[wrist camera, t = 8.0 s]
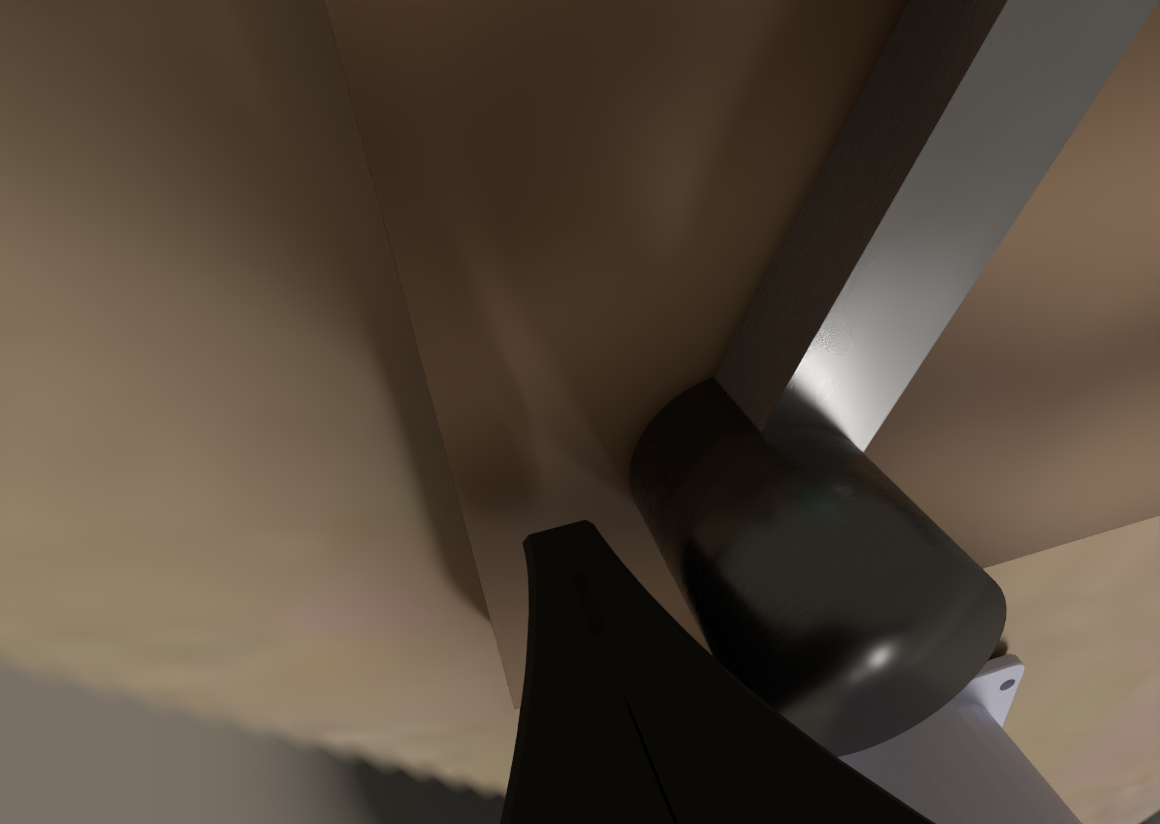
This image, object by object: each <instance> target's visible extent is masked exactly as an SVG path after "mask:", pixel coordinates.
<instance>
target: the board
mask: <svg viewBox="0 0 1160 824" xmlns="http://www.w3.org/2000/svg"><path fill="white" fill-rule="evenodd" d="M324 1H325V5H326V9H327V12H328V16H329V20H330V23H331V27H332V31H333V35H334V38H335V42H336V46H337V50H338V53H339V57H340V61H341V64H342V68H343V72H344V76H345V79H346V83H347V87H348V91H349V94H350V98H351V102H352V105H353V109H354V113H355V117H356V120H357V124H358V128H359V131H360V135H361V139H362V143H363V146H364V150H365V154H366V158H367V161H368V165H369V169H370V172H371V176H372V180H373V184H374V187H375V191H376V195H377V199H378V202H379V206H380V210H381V213H382V217H383V221H384V225H385V228H386V232H387V236H388V240H389V243H390V247H391V251H392V254H393V258H394V262H395V266H396V269H397V273H398V277H399V281H400V284H401V288H402V292H403V295H404V299H405V303H406V307H407V310H408V314H409V318H410V322H411V325H412V329H413V333H414V336H415V340H416V344H417V348H418V351H419V355H420V359H421V363H422V366H423V370H424V374H425V377H426V381H427V385H428V389H429V392H430V396H431V400H432V404H433V407H434V411H435V415H436V418H437V422H438V426H439V430H440V433H441V437H442V441H443V444H444V448H445V452H446V456H447V459H448V463H449V467H450V471H451V474H452V478H453V482H454V485H455V489H456V493H457V497H458V500H459V504H460V508H461V512H462V515H463V519H464V523H465V526H466V530H467V534H468V538H469V541H470V545H471V549H472V553H473V556H474V560H475V564H476V567H477V571H478V575H479V579H480V582H481V586H482V590H483V594H484V597H485V601H486V605H487V608H488V612H489V616H490V620H491V623H492V627H493V631H494V635H495V638H496V642H497V646H498V649H499V653H500V657H501V661H502V664H503V668H504V672H505V676H506V679H507V683H508V687H509V690H510V694H511V698H512V702H513V705H514V709H517V708H520V707H521V699H522V691H523V684H524V676H525V665H526V650H527V633H528V615H529V600H528V573H527V564H526V558H525V553H524V548H523V544H522V542H523V541H524V540H525V539H526V537H527V536H528V535H529V534H533V533H537V532H540V531H544V530H548V529H552V528H555V527H559V526H563V525H567V524H571V523H574V522H578V521H582V520H588V521H589V522H591V523H593V524H594V525H595V526H596V528H597V529H598V531H599V532H600V534H601V535H602V537H603V538H604V539H605V541H606V542H607V543H608V545H609V546H610V547H611V548H612V550H613V551H614V552H615V554H616V555H617V556H618V557H619V558H620V560H621V561H622V562H623V563H624V565H625V566H626V567H627V568H628V569H629V570H630V572H631V573H632V574H633V575H634V576H635V577H636V578H637V580H638V581H639V582H640V583H641V584H642V585H643V586H644V587H645V589H646V590H647V591H648V592H649V593H650V594H651V595H652V596H653V597H654V598H655V599H656V600H657V601H658V602H659V604H660V605H661V606H662V607H663V608H664V609H665V610H666V611H667V612H668V613H669V614H670V615H671V616H672V617H673V618H674V619H675V620H676V621H677V622H678V623H679V624H680V625H681V626H682V627H683V628H684V629H685V630H686V631H687V632H688V633H689V634H690V635H691V636H692V637H693V638H694V639H695V640H696V641H697V642H698V643H699V644H700V645H701V646H702V647H703V648H705V649H706V650H707V651H710V650H709V648H708V646H707V644H706V642H705V640H704V638H703V636H702V634H701V632H700V630H699V628H698V626H697V624H696V622H695V620H694V618H693V616H692V614H691V612H690V610H689V608H688V606H687V604H686V602H685V601H684V599H683V597H682V595H681V593H680V591H679V589H678V587H677V585H676V583H675V581H674V579H673V577H672V575H671V573H670V571H669V569H668V567H667V565H666V563H665V561H664V559H663V557H662V555H661V553H660V551H659V549H658V547H657V545H656V543H655V542H654V540H653V538H652V536H651V534H650V532H649V530H648V528H647V526H646V524H645V522H644V520H643V518H642V516H641V514H640V512H639V510H638V508H637V506H636V504H635V502H634V499H633V497H632V494H631V489H630V484H629V471H630V463H631V460H632V456H633V452H634V450H635V447H636V445H637V442H638V440H639V439H640V437H641V435H642V433H643V432H644V430H645V429H646V427H647V426H648V424H649V423H650V422H651V420H652V419H653V418H654V417H655V416H656V415H657V414H658V412H659V411H660V410H661V409H662V408H663V407H665V406H666V405H667V404H668V403H669V402H670V401H671V400H673V399H674V398H675V397H677V396H678V395H679V394H681V393H682V392H684V391H685V390H687V389H689V388H691V387H692V386H694V385H696V384H698V383H700V382H703V381H705V380H707V379H710V378H713V377H714V376H715V374H716V372H717V370H718V368H719V366H720V364H721V363H722V361H723V359H724V357H725V355H726V353H727V351H728V349H729V347H730V345H731V343H732V341H733V339H734V337H735V336H736V334H737V332H738V330H739V328H740V326H741V324H742V322H743V320H744V318H745V316H746V314H747V312H748V310H749V309H750V307H751V305H752V303H753V301H754V299H755V297H756V295H757V293H758V291H759V289H760V287H761V285H762V283H763V282H764V280H765V278H766V276H767V274H768V272H769V270H770V268H771V266H772V264H773V262H774V260H775V258H776V256H777V255H778V253H779V251H780V249H781V247H782V245H783V243H784V241H785V239H786V237H787V235H788V233H789V231H790V229H791V228H792V226H793V224H794V222H795V220H796V218H797V216H798V214H799V212H800V210H801V208H802V206H803V204H804V202H805V201H806V199H807V197H808V195H809V193H810V191H811V189H812V187H813V185H814V183H815V181H816V179H817V177H818V175H819V174H820V172H821V170H822V168H823V166H824V164H825V162H826V160H827V158H828V156H829V154H830V152H831V150H832V148H833V147H834V145H835V143H836V141H837V139H838V137H839V135H840V133H841V131H842V129H843V127H844V125H845V123H846V121H847V120H848V118H849V116H850V114H851V112H852V110H853V108H854V106H855V104H856V102H857V100H858V98H859V96H860V94H861V93H862V91H863V89H864V87H865V85H866V83H867V81H868V79H869V77H870V75H871V73H872V71H873V69H874V67H875V66H876V64H877V62H878V60H879V58H880V56H881V54H882V52H883V50H884V48H885V46H886V44H887V42H888V40H889V39H890V37H891V35H892V33H893V31H894V29H895V27H896V25H897V23H898V21H899V19H900V17H901V15H902V13H903V12H904V10H905V8H906V6H907V4H908V2H909V0H324ZM863 453H864V454H865V455H866V456H867V457H868V458H869V459H870V460H871V461H872V462H873V463H874V464H875V465H876V466H877V467H879V468H880V469H881V470H882V471H883V472H884V473H885V474H886V475H887V476H888V477H889V478H890V479H891V480H892V481H893V482H894V483H895V484H896V485H897V486H898V487H899V488H900V489H901V490H902V491H903V492H904V493H905V494H906V495H907V496H908V497H909V498H910V499H911V500H912V501H913V502H914V503H915V504H916V505H917V506H918V507H920V508H921V509H922V510H923V511H924V512H925V513H926V514H927V515H928V516H929V517H930V518H931V519H932V520H933V521H934V522H935V523H936V524H937V525H938V526H939V527H940V528H941V529H942V530H943V531H944V532H945V533H946V534H947V535H948V536H949V537H950V538H951V539H952V540H953V541H954V542H955V543H956V544H957V545H958V546H959V547H961V548H962V549H963V550H964V551H965V552H966V553H967V554H968V555H969V556H970V557H971V558H972V559H973V560H974V561H975V562H976V563H977V564H978V565H979V566H980V567H981V568H982V569H983V568H986V567H990V566H993V565H996V564H1000V563H1003V562H1006V561H1010V560H1013V559H1016V558H1019V557H1023V556H1026V555H1029V554H1033V553H1036V552H1039V551H1043V550H1046V549H1049V548H1053V547H1056V546H1059V545H1063V544H1066V543H1069V542H1073V541H1076V540H1079V539H1083V538H1086V537H1089V536H1093V535H1096V534H1099V533H1103V532H1106V531H1109V530H1113V529H1116V528H1119V527H1123V526H1126V525H1129V524H1133V523H1136V522H1139V521H1143V520H1146V519H1149V518H1153V517H1156V516H1159V515H1160V1H1159V2H1158V4H1157V5H1156V7H1155V8H1154V10H1153V11H1152V13H1151V14H1150V16H1149V17H1148V19H1147V20H1146V22H1145V23H1144V25H1143V26H1142V28H1141V30H1140V31H1139V33H1138V34H1137V36H1136V37H1135V39H1134V40H1133V42H1132V43H1131V45H1130V46H1129V48H1128V49H1127V51H1126V52H1125V54H1124V55H1123V57H1122V58H1121V60H1120V62H1119V63H1118V65H1117V66H1116V68H1115V69H1114V71H1113V72H1112V74H1111V75H1110V77H1109V78H1108V80H1107V81H1106V83H1105V84H1104V86H1103V87H1102V89H1101V91H1100V92H1099V94H1098V95H1097V97H1096V98H1095V100H1094V101H1093V103H1092V104H1091V106H1090V107H1089V109H1088V110H1087V112H1086V113H1085V115H1084V116H1083V118H1082V119H1081V121H1080V123H1079V124H1078V126H1077V127H1076V129H1075V130H1074V132H1073V133H1072V135H1071V136H1070V138H1069V139H1068V141H1067V142H1066V144H1065V145H1064V147H1063V148H1062V150H1061V151H1060V153H1059V155H1058V156H1057V158H1056V159H1055V161H1054V162H1053V164H1052V165H1051V167H1050V168H1049V170H1048V171H1047V173H1046V174H1045V176H1044V177H1043V179H1042V180H1041V182H1040V184H1039V185H1038V187H1037V188H1036V190H1035V191H1034V193H1033V194H1032V196H1031V197H1030V199H1029V200H1028V202H1027V203H1026V205H1025V206H1024V208H1023V209H1022V211H1021V212H1020V214H1019V216H1018V217H1017V219H1016V220H1015V222H1014V223H1013V225H1012V226H1011V228H1010V229H1009V231H1008V232H1007V234H1006V235H1005V237H1004V238H1003V240H1002V241H1001V243H1000V244H999V246H998V248H997V249H996V251H995V252H994V254H993V255H992V257H991V258H990V260H989V261H988V263H987V264H986V266H985V267H984V269H983V270H982V272H981V273H980V275H979V277H978V278H977V280H976V281H975V283H974V284H973V286H972V287H971V289H970V290H969V292H968V293H967V295H966V296H965V298H964V299H963V301H962V302H961V304H960V305H959V307H958V309H957V310H956V312H955V313H954V315H953V316H952V318H951V319H950V321H949V322H948V324H947V325H946V327H945V328H944V330H943V331H942V333H941V334H940V336H939V338H938V339H937V341H936V342H935V344H934V345H933V347H932V348H931V350H930V351H929V353H928V354H927V356H926V357H925V359H924V360H923V362H922V363H921V365H920V366H919V368H918V370H917V371H916V373H915V374H914V376H913V377H912V379H911V380H910V382H909V383H908V385H907V386H906V388H905V389H904V391H903V392H902V394H901V395H900V397H899V398H898V400H897V402H896V403H895V405H894V406H893V408H892V409H891V411H890V412H889V414H888V415H887V417H886V418H885V420H884V421H883V423H882V424H881V426H880V427H879V429H878V431H877V432H876V434H875V435H874V437H873V438H872V440H871V441H870V443H869V444H868V446H867V447H866V449H865V450H864V452H863Z"/></svg>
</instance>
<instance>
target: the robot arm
mask: <svg viewBox="0 0 1160 824" xmlns="http://www.w3.org/2000/svg"><path fill="white" fill-rule="evenodd" d="M522 544H523V548H524V553H525V558H526V564H527V573H528V600H529V615H528V633H527V650H526V665H525V676H524V684H523V691H522V699H521V707H520V715H519V723H518V730H517V737H516V743H515V749H514V755H513V761H512V766H511V772H510V777H509V782H508V787H507V792H506V797H505V803H504V808H503V813H502V817H501V822H500V824H1082V823H1081V822H1080V820H1079V819H1078V818H1077V817H1076V816H1075V814H1074V813H1073V812H1072V811H1071V810H1070V808H1069V807H1068V806H1067V805H1066V804H1065V803H1064V801H1063V800H1062V799H1061V798H1060V797H1059V795H1058V794H1057V793H1056V792H1055V791H1054V789H1053V788H1052V787H1051V786H1050V785H1049V783H1048V782H1047V781H1046V780H1045V779H1044V777H1043V776H1042V775H1041V774H1040V773H1039V771H1038V770H1037V769H1036V768H1035V767H1034V766H1033V764H1032V763H1031V762H1030V761H1029V760H1028V758H1027V757H1026V756H1025V755H1024V754H1023V752H1022V751H1021V750H1020V749H1019V748H1018V746H1017V745H1016V744H1015V743H1014V742H1013V740H1012V739H1011V738H1010V737H1009V736H1008V734H1007V733H1006V732H1005V731H1004V730H1003V729H1002V725H1003V723H1004V720H1005V718H1006V715H1007V713H1008V710H1009V708H1010V705H1011V702H1012V700H1013V697H1014V695H1015V692H1016V690H1017V687H1018V685H1019V682H1020V680H1021V677H1022V675H1023V672H1024V667H1025V665H1024V664H1023V663H1022V662H1021V660H1020V659H1019V658H1018V657H1017V656H1016V655H1013V654H1007V655H1003V656H1000V657H997V658H994V659H991V660H988V661H987V662H986V664H985V665H984V666H983V668H982V669H981V670H980V671H979V673H978V674H977V675H976V676H975V677H974V679H973V680H972V681H971V682H970V683H969V684H968V685H967V686H966V687H965V688H964V689H963V690H962V691H961V692H960V693H959V694H957V695H956V696H955V697H954V698H953V699H952V700H951V701H950V702H948V703H947V704H946V705H945V706H943V707H942V708H941V709H940V710H938V711H937V712H935V713H934V714H933V715H931V716H930V717H928V718H927V719H925V720H924V721H922V722H921V723H919V724H917V725H916V726H914V727H913V728H911V729H909V730H907V731H905V732H904V733H902V734H900V735H898V736H896V737H894V738H892V739H890V740H887V741H885V742H883V743H881V744H878V745H876V746H873V747H871V748H868V749H865V750H862V751H859V752H856V753H853V754H849V755H845V756H841V757H836V756H835V755H833V754H832V753H831V752H829V751H828V750H827V749H825V748H824V747H823V746H821V745H820V744H819V743H817V742H816V741H815V740H813V739H812V738H811V737H809V736H808V735H807V734H805V733H804V732H803V731H801V730H800V729H799V728H797V727H796V726H795V725H794V724H792V723H791V722H790V721H789V720H787V719H786V718H785V717H784V716H782V715H781V714H780V713H779V712H777V711H776V710H775V709H774V708H772V707H771V706H770V705H769V704H767V703H766V702H765V701H764V700H762V699H761V698H760V697H759V696H758V695H756V694H755V693H754V692H753V691H752V690H750V689H749V688H748V687H747V686H746V685H745V684H743V683H742V682H741V681H740V680H739V679H738V678H737V677H735V676H734V675H733V674H732V673H731V672H730V671H729V670H728V669H726V668H725V667H724V666H723V665H722V664H721V663H720V662H719V661H718V660H717V659H715V658H714V657H713V656H712V655H711V654H710V653H709V652H708V651H707V650H706V649H705V648H703V647H702V646H701V645H700V644H699V643H698V642H697V641H696V640H695V639H694V638H693V637H692V636H691V635H690V634H689V633H688V632H687V631H686V630H685V629H684V628H683V627H682V626H681V625H680V624H679V623H678V622H677V621H676V620H675V619H674V618H673V617H672V616H671V615H670V614H669V613H668V612H667V611H666V610H665V609H664V608H663V607H662V606H661V605H660V604H659V602H658V601H657V600H656V599H655V598H654V597H653V596H652V595H651V594H650V593H649V592H648V591H647V590H646V589H645V587H644V586H643V585H642V584H641V583H640V582H639V581H638V580H637V578H636V577H635V576H634V575H633V574H632V573H631V572H630V570H629V569H628V568H627V567H626V566H625V565H624V563H623V562H622V561H621V560H620V558H619V557H618V556H617V555H616V554H615V552H614V551H613V550H612V548H611V547H610V546H609V545H608V543H607V542H606V541H605V539H604V538H603V537H602V535H601V534H600V532H599V531H598V529H597V528H596V526H595V525H594V524H593V523H591V522H589V521H588V520H582V521H578V522H574V523H571V524H567V525H563V526H559V527H555V528H552V529H548V530H544V531H540V532H537V533H533V534H529V535H528V536H527V537H526V539H525V540H524V541H523V542H522Z"/></svg>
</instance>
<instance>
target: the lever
mask: <svg viewBox="0 0 1160 824" xmlns="http://www.w3.org/2000/svg"><path fill="white" fill-rule="evenodd" d="M1159 1H1160V0H909V2H908V4H907V6H906V8H905V10H904V12H903V13H902V15H901V17H900V19H899V21H898V23H897V25H896V27H895V29H894V31H893V33H892V35H891V37H890V39H889V40H888V42H887V44H886V46H885V48H884V50H883V52H882V54H881V56H880V58H879V60H878V62H877V64H876V66H875V67H874V69H873V71H872V73H871V75H870V77H869V79H868V81H867V83H866V85H865V87H864V89H863V91H862V93H861V94H860V96H859V98H858V100H857V102H856V104H855V106H854V108H853V110H852V112H851V114H850V116H849V118H848V120H847V121H846V123H845V125H844V127H843V129H842V131H841V133H840V135H839V137H838V139H837V141H836V143H835V145H834V147H833V148H832V150H831V152H830V154H829V156H828V158H827V160H826V162H825V164H824V166H823V168H822V170H821V172H820V174H819V175H818V177H817V179H816V181H815V183H814V185H813V187H812V189H811V191H810V193H809V195H808V197H807V199H806V201H805V202H804V204H803V206H802V208H801V210H800V212H799V214H798V216H797V218H796V220H795V222H794V224H793V226H792V228H791V229H790V231H789V233H788V235H787V237H786V239H785V241H784V243H783V245H782V247H781V249H780V251H779V253H778V255H777V256H776V258H775V260H774V262H773V264H772V266H771V268H770V270H769V272H768V274H767V276H766V278H765V280H764V282H763V283H762V285H761V287H760V289H759V291H758V293H757V295H756V297H755V299H754V301H753V303H752V305H751V307H750V309H749V310H748V312H747V314H746V316H745V318H744V320H743V322H742V324H741V326H740V328H739V330H738V332H737V334H736V336H735V337H734V339H733V341H732V343H731V345H730V347H729V349H728V351H727V353H726V355H725V357H724V359H723V361H722V363H721V364H720V366H719V368H718V370H717V372H716V374H715V376H714V377H713V378H710V379H707V380H705V381H703V382H700V383H698V384H696V385H694V386H692V387H691V388H689V389H687V390H685V391H684V392H682V393H681V394H679V395H678V396H677V397H675V398H674V399H673V400H671V401H670V402H669V403H668V404H667V405H666V406H665V407H663V408H662V409H661V410H660V411H659V412H658V414H657V415H656V416H655V417H654V418H653V419H652V420H651V422H650V423H649V424H648V426H647V427H646V429H645V430H644V432H643V433H642V435H641V437H640V439H639V440H638V442H637V445H636V447H635V450H634V452H633V456H632V460H631V463H630V471H629V484H630V489H631V494H632V497H633V499H634V502H635V504H636V506H637V508H638V510H639V512H640V514H641V516H642V518H643V520H644V522H645V524H646V526H647V528H648V530H649V532H650V534H651V536H652V538H653V540H654V542H655V543H656V545H657V547H658V549H659V551H660V553H661V555H662V557H663V559H664V561H665V563H666V565H667V567H668V569H669V571H670V573H671V575H672V577H673V579H674V581H675V583H676V585H677V587H678V589H679V591H680V593H681V595H682V597H683V599H684V601H685V602H686V604H687V606H688V608H689V610H690V612H691V614H692V616H693V618H694V620H695V622H696V624H697V626H698V628H699V630H700V632H701V634H702V636H703V638H704V640H705V642H706V644H707V646H708V648H709V650H710V652H711V654H712V656H713V657H714V658H715V659H717V660H718V661H719V662H720V663H721V664H722V665H723V666H724V667H725V668H726V669H728V670H729V671H730V672H731V673H732V674H733V675H734V676H735V677H737V678H738V679H739V680H740V681H741V682H742V683H743V684H745V685H746V686H747V687H748V688H749V689H750V690H752V691H753V692H754V693H755V694H756V695H758V696H759V697H760V698H761V699H762V700H764V701H765V702H766V703H767V704H769V705H770V706H771V707H772V708H774V709H775V710H776V711H777V712H779V713H780V714H781V715H782V716H784V717H785V718H786V719H787V720H789V721H790V722H791V723H792V724H794V725H795V726H796V727H797V728H799V729H800V730H801V731H803V732H804V733H805V734H807V735H808V736H809V737H811V738H812V739H813V740H815V741H816V742H817V743H819V744H820V745H821V746H823V747H824V748H825V749H827V750H828V751H829V752H831V753H832V754H833V755H835V756H836V757H841V756H845V755H849V754H853V753H856V752H859V751H862V750H865V749H868V748H871V747H873V746H876V745H878V744H881V743H883V742H885V741H887V740H890V739H892V738H894V737H896V736H898V735H900V734H902V733H904V732H905V731H907V730H909V729H911V728H913V727H914V726H916V725H917V724H919V723H921V722H922V721H924V720H925V719H927V718H928V717H930V716H931V715H933V714H934V713H935V712H937V711H938V710H940V709H941V708H942V707H943V706H945V705H946V704H947V703H948V702H950V701H951V700H952V699H953V698H954V697H955V696H956V695H957V694H959V693H960V692H961V691H962V690H963V689H964V688H965V687H966V686H967V685H968V684H969V683H970V682H971V681H972V680H973V679H974V677H975V676H976V675H977V674H978V673H979V671H980V670H981V669H982V668H983V666H984V665H985V664H986V662H987V661H988V659H989V658H990V656H991V655H992V653H993V651H994V650H995V648H996V646H997V644H998V642H999V640H1000V637H1001V635H1002V632H1003V629H1004V625H1005V621H1006V602H1005V597H1004V595H1003V592H1002V590H1001V588H1000V587H999V586H998V584H997V583H996V582H995V581H994V580H993V579H992V578H991V577H990V576H989V575H988V574H987V573H986V572H985V571H984V570H983V569H982V568H981V567H980V566H979V565H978V564H977V563H976V562H975V561H974V560H973V559H972V558H971V557H970V556H969V555H968V554H967V553H966V552H965V551H964V550H963V549H962V548H961V547H959V546H958V545H957V544H956V543H955V542H954V541H953V540H952V539H951V538H950V537H949V536H948V535H947V534H946V533H945V532H944V531H943V530H942V529H941V528H940V527H939V526H938V525H937V524H936V523H935V522H934V521H933V520H932V519H931V518H930V517H929V516H928V515H927V514H926V513H925V512H924V511H923V510H922V509H921V508H920V507H918V506H917V505H916V504H915V503H914V502H913V501H912V500H911V499H910V498H909V497H908V496H907V495H906V494H905V493H904V492H903V491H902V490H901V489H900V488H899V487H898V486H897V485H896V484H895V483H894V482H893V481H892V480H891V479H890V478H889V477H888V476H887V475H886V474H885V473H884V472H883V471H882V470H881V469H880V468H879V467H877V466H876V465H875V464H874V463H873V462H872V461H871V460H870V459H869V458H868V457H867V456H866V455H865V454H864V453H863V452H864V450H865V449H866V447H867V446H868V444H869V443H870V441H871V440H872V438H873V437H874V435H875V434H876V432H877V431H878V429H879V427H880V426H881V424H882V423H883V421H884V420H885V418H886V417H887V415H888V414H889V412H890V411H891V409H892V408H893V406H894V405H895V403H896V402H897V400H898V398H899V397H900V395H901V394H902V392H903V391H904V389H905V388H906V386H907V385H908V383H909V382H910V380H911V379H912V377H913V376H914V374H915V373H916V371H917V370H918V368H919V366H920V365H921V363H922V362H923V360H924V359H925V357H926V356H927V354H928V353H929V351H930V350H931V348H932V347H933V345H934V344H935V342H936V341H937V339H938V338H939V336H940V334H941V333H942V331H943V330H944V328H945V327H946V325H947V324H948V322H949V321H950V319H951V318H952V316H953V315H954V313H955V312H956V310H957V309H958V307H959V305H960V304H961V302H962V301H963V299H964V298H965V296H966V295H967V293H968V292H969V290H970V289H971V287H972V286H973V284H974V283H975V281H976V280H977V278H978V277H979V275H980V273H981V272H982V270H983V269H984V267H985V266H986V264H987V263H988V261H989V260H990V258H991V257H992V255H993V254H994V252H995V251H996V249H997V248H998V246H999V244H1000V243H1001V241H1002V240H1003V238H1004V237H1005V235H1006V234H1007V232H1008V231H1009V229H1010V228H1011V226H1012V225H1013V223H1014V222H1015V220H1016V219H1017V217H1018V216H1019V214H1020V212H1021V211H1022V209H1023V208H1024V206H1025V205H1026V203H1027V202H1028V200H1029V199H1030V197H1031V196H1032V194H1033V193H1034V191H1035V190H1036V188H1037V187H1038V185H1039V184H1040V182H1041V180H1042V179H1043V177H1044V176H1045V174H1046V173H1047V171H1048V170H1049V168H1050V167H1051V165H1052V164H1053V162H1054V161H1055V159H1056V158H1057V156H1058V155H1059V153H1060V151H1061V150H1062V148H1063V147H1064V145H1065V144H1066V142H1067V141H1068V139H1069V138H1070V136H1071V135H1072V133H1073V132H1074V130H1075V129H1076V127H1077V126H1078V124H1079V123H1080V121H1081V119H1082V118H1083V116H1084V115H1085V113H1086V112H1087V110H1088V109H1089V107H1090V106H1091V104H1092V103H1093V101H1094V100H1095V98H1096V97H1097V95H1098V94H1099V92H1100V91H1101V89H1102V87H1103V86H1104V84H1105V83H1106V81H1107V80H1108V78H1109V77H1110V75H1111V74H1112V72H1113V71H1114V69H1115V68H1116V66H1117V65H1118V63H1119V62H1120V60H1121V58H1122V57H1123V55H1124V54H1125V52H1126V51H1127V49H1128V48H1129V46H1130V45H1131V43H1132V42H1133V40H1134V39H1135V37H1136V36H1137V34H1138V33H1139V31H1140V30H1141V28H1142V26H1143V25H1144V23H1145V22H1146V20H1147V19H1148V17H1149V16H1150V14H1151V13H1152V11H1153V10H1154V8H1155V7H1156V5H1157V4H1158V2H1159Z"/></svg>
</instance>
